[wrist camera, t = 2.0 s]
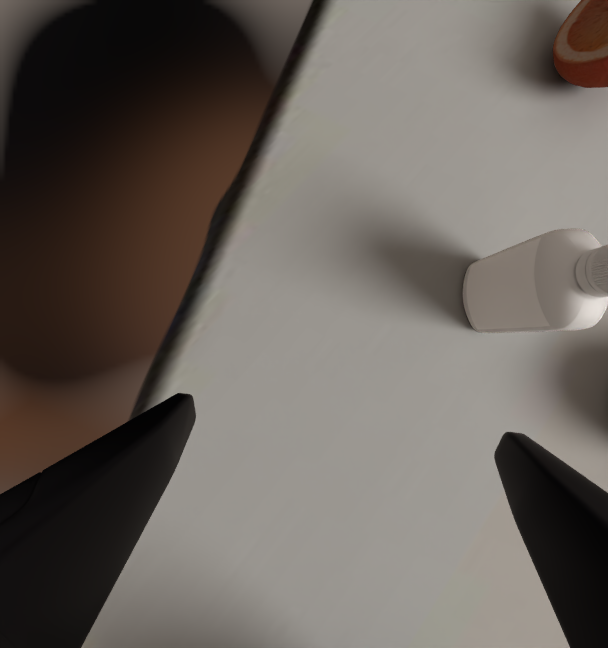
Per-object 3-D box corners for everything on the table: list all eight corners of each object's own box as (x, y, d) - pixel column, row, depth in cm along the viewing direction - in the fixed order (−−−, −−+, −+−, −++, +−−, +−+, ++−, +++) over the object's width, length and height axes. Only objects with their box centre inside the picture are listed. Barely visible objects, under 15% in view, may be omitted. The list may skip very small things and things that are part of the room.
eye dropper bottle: (443, 317, 22) (614, 295, 10) (471, 254, 23) (668, 162, 11) (493, 341, 22) (719, 346, 10) (520, 277, 23) (770, 212, 11)
